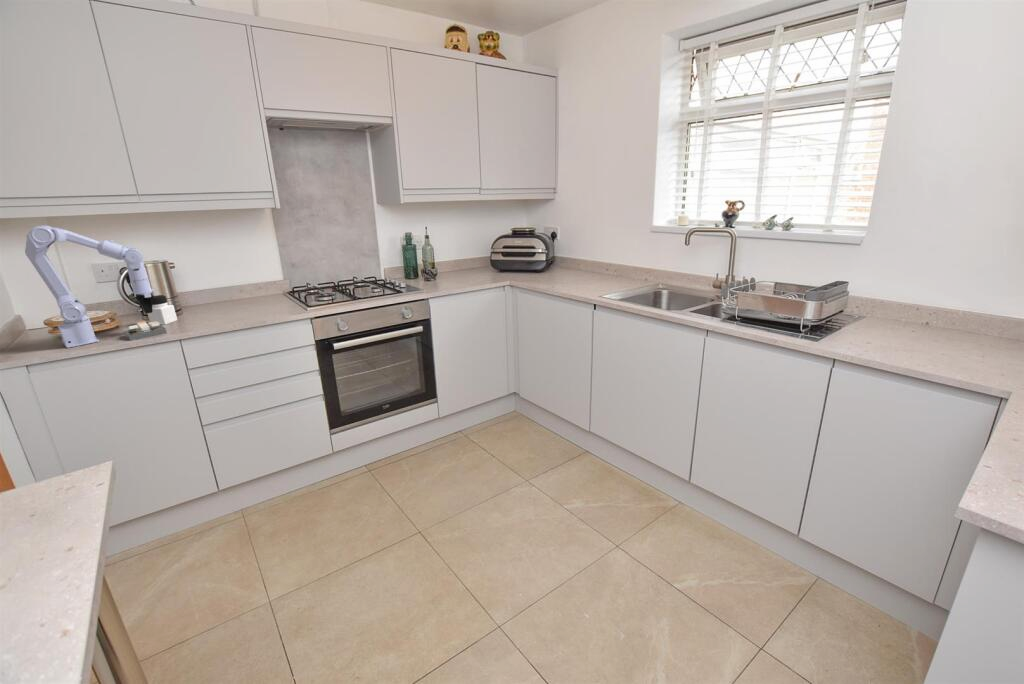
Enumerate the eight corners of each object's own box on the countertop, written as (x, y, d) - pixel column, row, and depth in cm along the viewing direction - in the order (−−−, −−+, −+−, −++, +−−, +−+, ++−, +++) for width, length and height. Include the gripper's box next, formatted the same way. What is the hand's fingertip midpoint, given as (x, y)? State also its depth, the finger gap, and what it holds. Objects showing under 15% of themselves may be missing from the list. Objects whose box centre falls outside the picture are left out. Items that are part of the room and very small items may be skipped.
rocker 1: (129, 329, 182) (128, 326, 182) (127, 331, 187) (126, 328, 187) (138, 327, 184) (137, 324, 184) (135, 329, 189) (134, 326, 188)
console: (130, 340, 182) (128, 335, 181) (124, 336, 188) (123, 330, 187) (166, 332, 190) (165, 327, 189) (160, 328, 196) (158, 323, 196)
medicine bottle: (178, 320, 210) (170, 293, 206) (165, 324, 203) (157, 297, 199) (163, 320, 210) (155, 294, 207) (150, 324, 204) (142, 297, 200)
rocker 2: (141, 330, 185) (141, 328, 185) (137, 325, 189) (136, 322, 188) (149, 329, 187) (149, 326, 187) (145, 323, 191) (144, 320, 190)
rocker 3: (152, 326, 187) (151, 323, 187) (148, 325, 192) (147, 322, 191) (159, 325, 189) (158, 322, 189) (156, 324, 193) (155, 321, 193)
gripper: (156, 279, 184) (165, 313, 189) (147, 276, 194) (156, 308, 198) (134, 282, 180) (144, 317, 184) (126, 279, 189) (135, 311, 193)
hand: (148, 312), depth 191 cm, fingers closed
